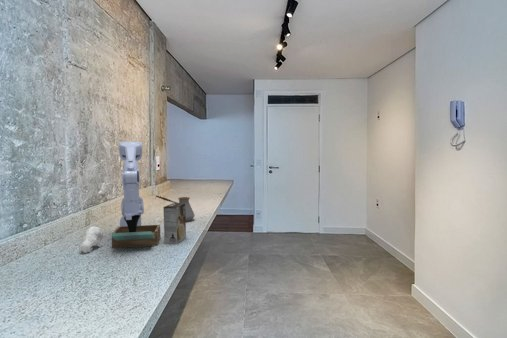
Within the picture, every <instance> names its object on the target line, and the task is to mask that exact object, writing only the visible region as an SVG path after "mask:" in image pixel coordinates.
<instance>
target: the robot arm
mask: <svg viewBox="0 0 507 338" xmlns="http://www.w3.org/2000/svg"><path fill="white" fill-rule="evenodd" d="M118 145H119V146H118V150H119V158H120V159H121V160H122V161H124V162H123V171H122V173H121V183H122V188H123V198H122V199H121V206H120V208H121V211H120V212H121V215H122V216H121V217H120V219H119V227H121V226H128V229H129V232H136V229H137V226H142V215H144V212H145V211H144V208H145V207H144V199H143V197H141V195H140V183H141V176H140V174H141V172H140V169H139V163H138V161H139V160H141V159H142V157H143V143H142V141H119V143H118Z"/></svg>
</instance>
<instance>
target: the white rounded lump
mask: <svg viewBox="0 0 507 338" xmlns="http://www.w3.org/2000/svg"><path fill="white" fill-rule="evenodd" d="M103 233H104V232H103V231H102V229H101V228H100V227H97V226H95V225H93V226H90V227H88V228H87V229H86V231H85V233H84V237H83V238H82V243H81V244H80V248H79V249H80V250H81V251H82V252H83V253H84V254H87V253H88V252H91V251H92V250H93V247H94V246H97V247H98V248H101V247H102V239H103Z"/></svg>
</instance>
